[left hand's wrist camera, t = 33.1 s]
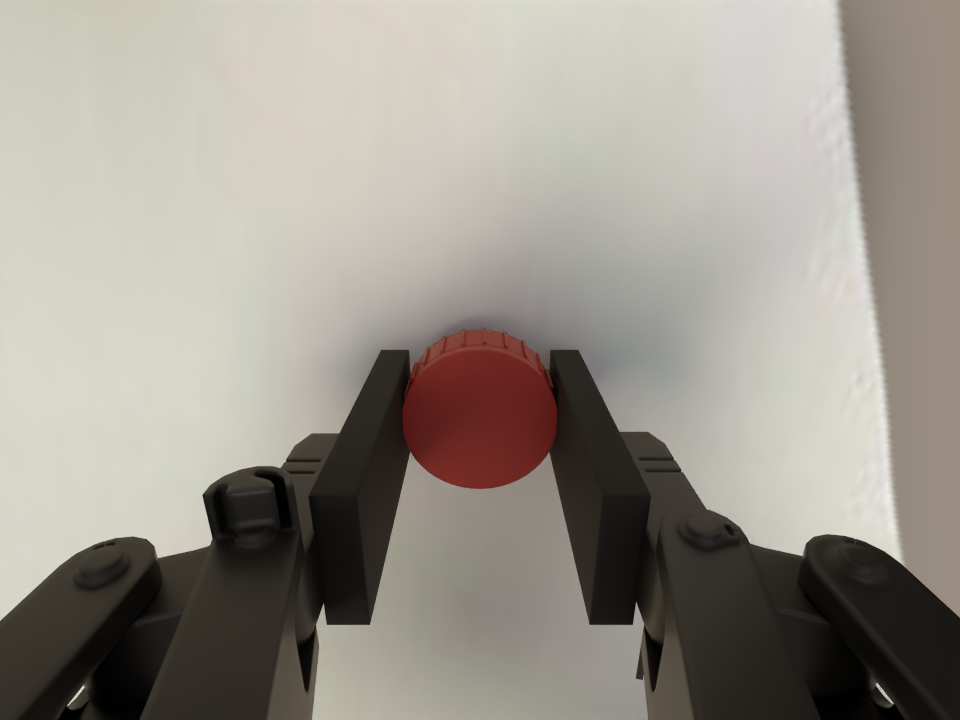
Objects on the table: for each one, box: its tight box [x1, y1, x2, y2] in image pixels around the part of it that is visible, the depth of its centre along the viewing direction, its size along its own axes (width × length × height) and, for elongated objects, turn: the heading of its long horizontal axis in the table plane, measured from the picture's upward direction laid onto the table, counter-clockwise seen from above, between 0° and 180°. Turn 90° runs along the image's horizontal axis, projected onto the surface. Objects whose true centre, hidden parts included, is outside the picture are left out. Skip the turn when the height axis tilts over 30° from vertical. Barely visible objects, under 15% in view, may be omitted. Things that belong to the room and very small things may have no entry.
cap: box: [402, 328, 557, 489], centre depth 14 cm, size 4×4×2 cm
